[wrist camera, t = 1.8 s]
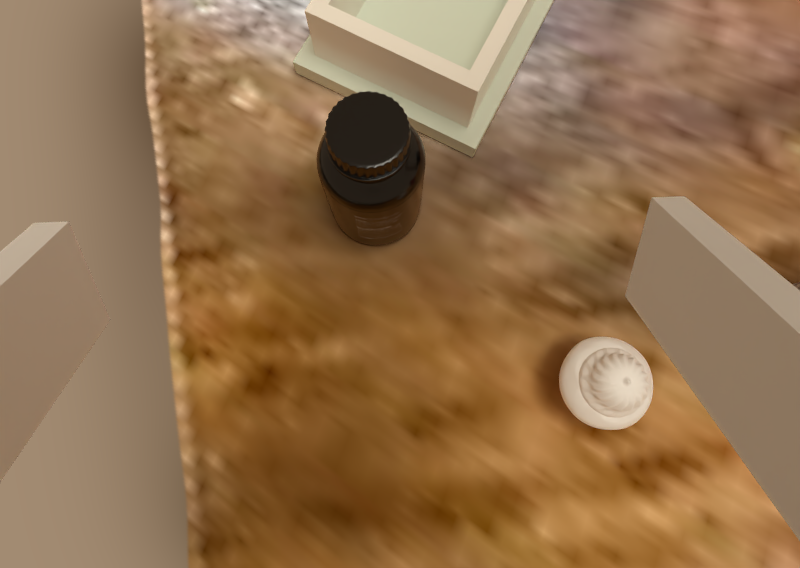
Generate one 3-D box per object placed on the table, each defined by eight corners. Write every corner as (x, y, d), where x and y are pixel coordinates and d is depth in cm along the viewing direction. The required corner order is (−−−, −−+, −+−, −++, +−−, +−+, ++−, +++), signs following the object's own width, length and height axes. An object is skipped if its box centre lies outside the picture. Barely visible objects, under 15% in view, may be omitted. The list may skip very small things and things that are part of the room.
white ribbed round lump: (529, 364, 38) (558, 360, 31) (599, 325, 39) (644, 313, 32) (573, 441, 37) (613, 455, 30) (644, 400, 38) (700, 404, 31)
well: (386, -75, 45) (385, -150, 39) (554, 0, 44) (581, -65, 37) (296, 73, 42) (279, 17, 36) (472, 157, 41) (487, 115, 35)
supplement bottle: (434, 186, 41) (451, 104, 29) (396, 262, 39) (397, 209, 28) (356, 149, 41) (341, 55, 29) (316, 223, 40) (283, 156, 28)
